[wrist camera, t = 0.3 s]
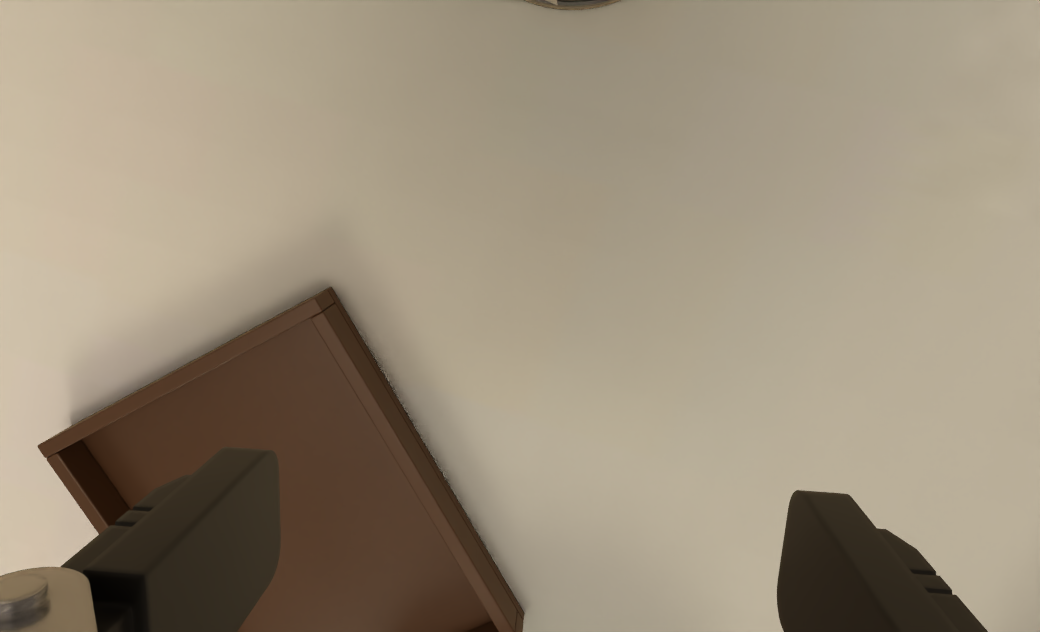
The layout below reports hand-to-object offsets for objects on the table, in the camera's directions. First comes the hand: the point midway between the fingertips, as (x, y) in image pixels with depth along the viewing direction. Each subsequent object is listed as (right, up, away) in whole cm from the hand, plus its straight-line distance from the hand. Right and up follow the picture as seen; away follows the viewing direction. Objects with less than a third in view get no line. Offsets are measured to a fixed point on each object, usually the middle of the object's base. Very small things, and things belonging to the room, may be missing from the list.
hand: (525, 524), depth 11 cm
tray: (-10, -6, +20) cm, 23 cm away
